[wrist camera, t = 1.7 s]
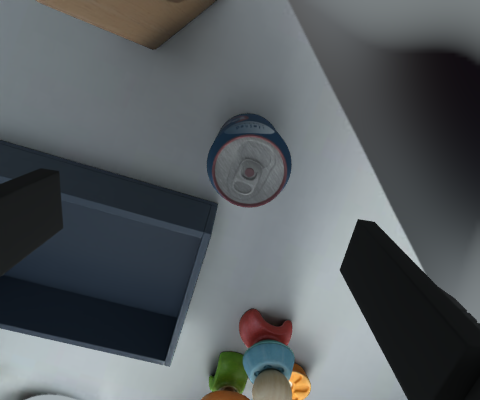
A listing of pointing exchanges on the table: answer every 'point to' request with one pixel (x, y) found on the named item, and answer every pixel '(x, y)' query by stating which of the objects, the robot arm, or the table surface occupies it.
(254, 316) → the stacking toy
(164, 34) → the wooden block
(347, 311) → the table surface
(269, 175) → the soda can
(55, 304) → the bin
